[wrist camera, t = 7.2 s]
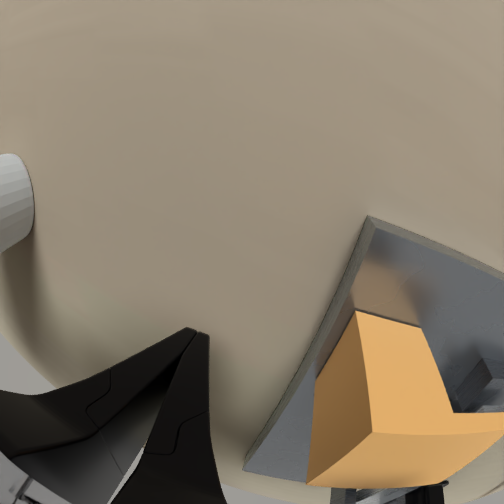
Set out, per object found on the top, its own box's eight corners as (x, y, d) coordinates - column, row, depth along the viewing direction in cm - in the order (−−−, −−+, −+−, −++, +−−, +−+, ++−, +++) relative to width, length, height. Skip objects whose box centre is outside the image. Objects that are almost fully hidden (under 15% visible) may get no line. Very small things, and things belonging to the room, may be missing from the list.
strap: (377, 496, 14) (376, 506, 13) (346, 496, 14) (345, 506, 13) (511, 404, 7) (516, 418, 6) (482, 405, 8) (487, 421, 7)
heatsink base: (422, 471, 16) (426, 511, 12) (246, 455, 18) (231, 506, 13) (569, 310, 8) (603, 353, 3) (367, 215, 9) (409, 280, 5)
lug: (421, 399, 10) (438, 483, 6) (314, 381, 11) (305, 484, 6) (469, 340, 9) (510, 428, 4) (355, 310, 9) (372, 432, 5)
